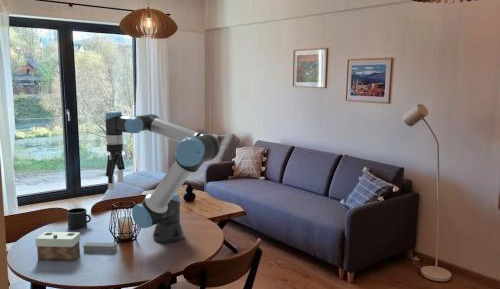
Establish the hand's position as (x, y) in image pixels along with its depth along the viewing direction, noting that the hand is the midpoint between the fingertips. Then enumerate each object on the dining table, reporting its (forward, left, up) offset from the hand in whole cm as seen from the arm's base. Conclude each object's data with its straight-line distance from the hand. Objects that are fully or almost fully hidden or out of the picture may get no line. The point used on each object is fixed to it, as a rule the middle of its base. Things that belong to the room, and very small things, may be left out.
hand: (116, 186), depth 209 cm
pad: (+3, +16, -27) cm, 31 cm away
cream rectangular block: (+18, +25, -20) cm, 37 cm away
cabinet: (+18, +25, -27) cm, 41 cm away
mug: (+25, -14, -27) cm, 39 cm away
